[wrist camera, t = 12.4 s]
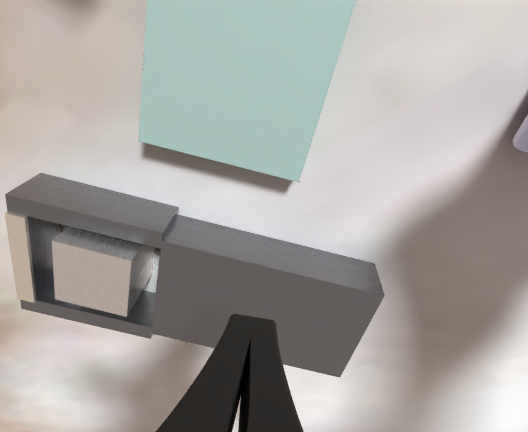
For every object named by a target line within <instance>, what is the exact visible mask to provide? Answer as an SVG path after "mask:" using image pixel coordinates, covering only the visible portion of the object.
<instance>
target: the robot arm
mask: <svg viewBox="0 0 528 432" xmlns="http://www.w3.org/2000/svg"><path fill="white" fill-rule="evenodd" d="M513 145H514V147H515V148H517V149H518V150H520V151H523V152H526V153H528V115H527V116H526V118H525V119H524V121H523V123H522V124H521V126H520V128H519V129H518V131H517V133H516V134H515V136H514V138H513ZM240 396H241V401H240V415H239V430H238V432H303V429H302V426H301V423H300V421H299V418H298V415H297V412H296V409H295V406H294V403H293V400H292V396H291V393H290V390H289V386H288V383H287V379H286V375H285V372H284V368H283V364H282V359H281V354H280V350H279V344H278V338H277V329H276V323H275V321H274V320H270V319H264V318H258V317H252V316H246V315H240V314H232V315H231V316H230V318H229V321H228V323H227V326H226V328H225V330H224V332H223V334H222V336H221V338H220V340H219V342H218V344H217V346H216V347H215V349H214V351H213V353H212V354H211V356H210V357H209V359H208V361H207V362H206V364H205V366H204V367H203V369H202V370H201V372H200V373H199V375H198V376H197V378H196V379H195V381H194V382H193V384H192V385H191V386H190V388H189V389H188V391H187V392H186V394H185V395H184V396H183V398H182V399H181V400H180V402H179V403H178V404H177V406H176V407H175V408H174V410H173V411H172V412H171V414H170V415H169V416H168V417H167V419H166V420H165V421H164V422H163V424H162V425H161V426H160V427H159V428H158V430H157V431H156V432H232V429H233V425H234V421H235V417H236V413H237V409H238V405H239V400H240Z"/></svg>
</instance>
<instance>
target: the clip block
mask: <svg viewBox="0 0 528 432" xmlns="http://www.w3.org/2000/svg"><path fill="white" fill-rule="evenodd" d="M52 254H53V272H54V289H55V299H56V300H60V301H64V302H68V303H72V304H76V305H80V306H84V307H88V308H93V309H97V310H101V311H105V312H109V313H113V314H117V315H121V316H125V317H127V316H128V314H129V312H130V311H131V309H132V307H133V305H134V304H135V302H136V300H137V298H138V297H139V295H140V293H141V292H142V290H143V288H144V286H145V285H146V283H147V281H148V279H149V278H150V276H151V274H152V271H153V263H154V255H155V247H152V246H147V245H143V244H139V243H135V242H131V241H127V240H123V239H119V238H115V237H111V236H107V235H102V234H98V233H94V232H90V231H86V230H82V229H78V228H74V227H70V226H68V227H66V228H65V229H64V230H63V231H62V232H61V233H60V234H59V235H57V236H56V237H55V238H54V239H53V240H52Z"/></svg>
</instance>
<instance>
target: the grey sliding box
mask: <svg viewBox="0 0 528 432" xmlns="http://www.w3.org/2000/svg"><path fill="white" fill-rule="evenodd" d="M5 196H6V203H7V210H8V211H7V212H6V213H5V217H6V224H7V231H8V238H9V244H10V251H11V258H12V264H13V271H14V278H15V285H16V291H17V298H18V299H20V300H21V307H22V309H25V310H30V311H34V312H38V313H42V314H47V315H51V316H55V317H60V318H64V319H68V320H72V321H77V322H81V323H85V324H90V325H94V326H98V327H102V328H107V329H111V330H115V331H120V332H124V333H128V334H132V335H137V336H141V337H145V338H150V339H151V337H152V335H153V334H156V335H161V336H165V337H169V338H174V339H178V340H182V341H186V342H191V343H195V344H199V345H203V346H208V347H212V348H215V347H216V346H217V344H218V342H219V340H220V338H221V336H222V334H223V332H224V330H225V328H226V326H227V323H228V321H229V318H230V316H231V315H232V314H240V315H246V316H252V317H258V318H264V319H270V320H274V321H275V323H276V329H277V338H278V344H279V350H280V354H281V359H282V364H285V365H289V366H293V367H297V368H302V369H306V370H310V371H314V372H319V373H323V374H327V375H332V376H336V377H340V376H341V374H342V373H343V371H344V369H345V367H346V365H347V363H348V362H349V360H350V358H351V356H352V354H353V352H354V351H355V349H356V347H357V345H358V343H359V341H360V340H361V338H362V336H363V334H364V332H365V330H366V329H367V327H368V325H369V323H370V321H371V319H372V318H373V316H374V314H375V312H376V310H377V308H378V307H379V305H380V303H381V301H382V299H383V297H384V293H383V289H382V286H381V283H380V280H379V277H378V273H377V270H376V267H375V264H373V263H369V262H365V261H361V260H357V259H353V258H349V257H345V256H341V255H337V254H333V253H329V252H325V251H321V250H317V249H313V248H309V247H305V246H301V245H297V244H293V243H289V242H285V241H281V240H277V239H273V238H269V237H265V236H261V235H257V234H253V233H249V232H245V231H241V230H237V229H233V228H229V227H225V226H221V225H217V224H213V223H209V222H205V221H201V220H197V219H193V218H189V217H185V216H181V215H178V210H179V207H175V206H171V205H167V204H163V203H159V202H155V201H151V200H147V199H143V198H139V197H135V196H131V195H127V194H123V193H119V192H115V191H111V190H107V189H103V188H99V187H95V186H91V185H87V184H83V183H79V182H75V181H71V180H67V179H63V178H59V177H55V176H51V175H47V174H43V173H40V174H38V175H37V176H35V177H33V178H32V179H30V180H28V181H27V182H25V183H23V184H22V185H20V186H18V187H17V188H15V189H13V190H12V191H10V192H8V193H7V194H5ZM61 224H62V225H66V226H70V227H74V228H78V229H82V230H86V231H90V232H94V233H98V234H102V235H107V236H111V237H115V238H119V239H123V240H127V241H131V242H135V243H139V244H143V245H147V246H152V247H156V248H160V249H161V252H160V261H159V270H158V278H157V287H156V293H152V292H148V291H143V290H142V292H141V293H140V295H139V297H138V298H137V300H136V302H135V304H134V305H133V307H132V309H131V311H130V312H129V314H128V316H127V317H125V316H121V315H117V314H113V313H109V312H105V311H101V310H97V309H93V308H88V307H84V306H80V305H76V304H72V303H68V302H64V301H60V300H56V299H55V289H54V272H53V254H52V240H53V239H54V238H55V237H56V236H57V235H59V234H60V233H61Z"/></svg>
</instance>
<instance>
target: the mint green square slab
mask: <svg viewBox="0 0 528 432" xmlns="http://www.w3.org/2000/svg"><path fill="white" fill-rule="evenodd" d="M355 2H356V0H147V13H146V29H145V46H144V62H143V78H142V94H141V110H140V126H139V141H140V142H144V143H148V144H152V145H155V146H159V147H163V148H167V149H171V150H175V151H179V152H183V153H187V154H191V155H194V156H198V157H202V158H206V159H210V160H214V161H218V162H222V163H226V164H230V165H233V166H237V167H241V168H245V169H249V170H253V171H257V172H261V173H265V174H269V175H272V176H276V177H280V178H284V179H288V180H292V181H296V182H299V180H300V176H301V173H302V170H303V167H304V164H305V161H306V157H307V154H308V151H309V148H310V145H311V142H312V138H313V135H314V132H315V129H316V126H317V123H318V119H319V116H320V113H321V110H322V107H323V104H324V100H325V97H326V94H327V91H328V88H329V85H330V81H331V78H332V75H333V72H334V69H335V66H336V62H337V59H338V56H339V53H340V50H341V46H342V43H343V40H344V37H345V34H346V31H347V27H348V24H349V21H350V18H351V15H352V12H353V8H354V5H355Z"/></svg>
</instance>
